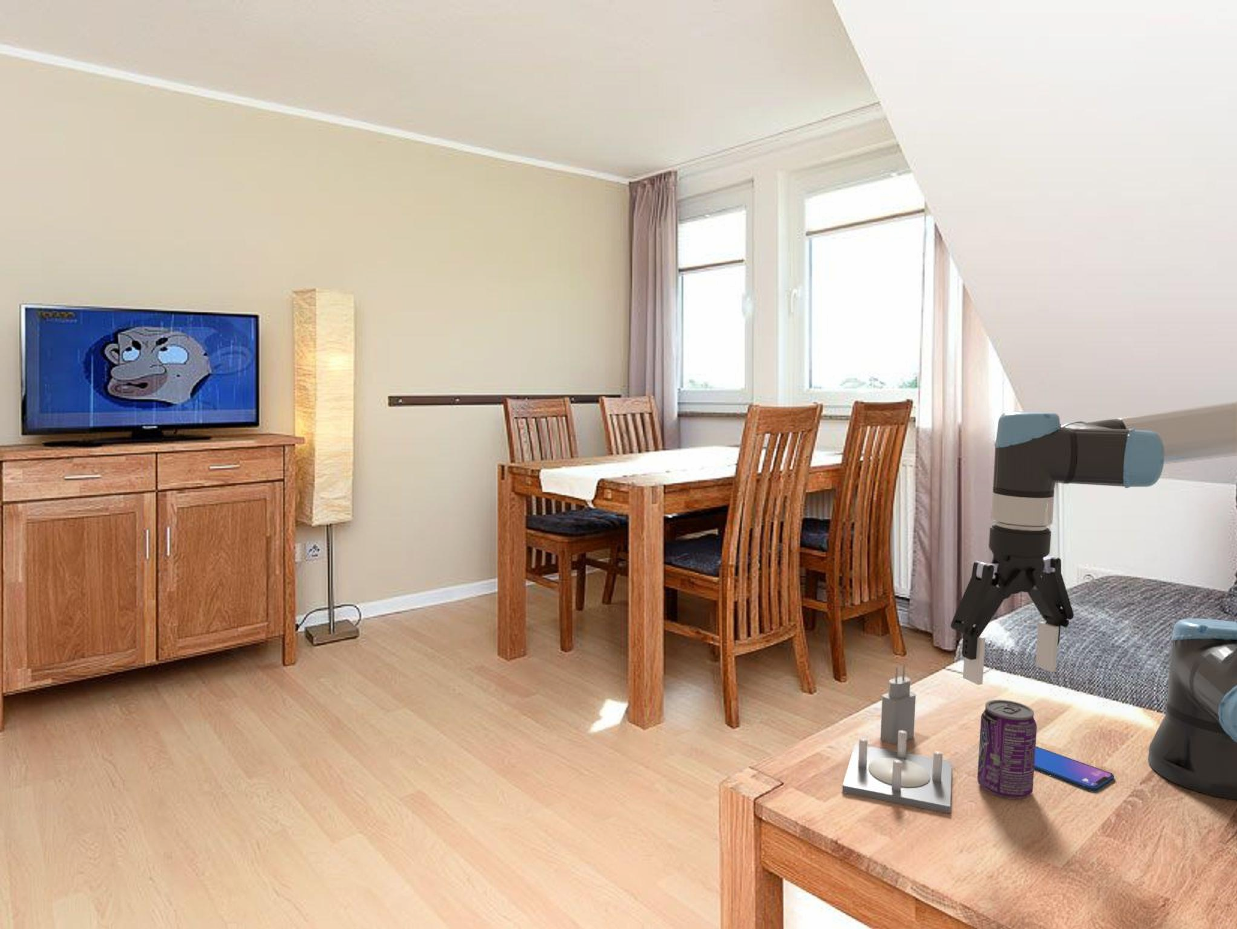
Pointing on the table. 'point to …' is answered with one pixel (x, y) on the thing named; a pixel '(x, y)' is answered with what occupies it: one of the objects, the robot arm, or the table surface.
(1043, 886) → the table surface
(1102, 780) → the smartphone
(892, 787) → the grey peg holder stand
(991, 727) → the beverage can
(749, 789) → the table surface
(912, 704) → the power adapter
